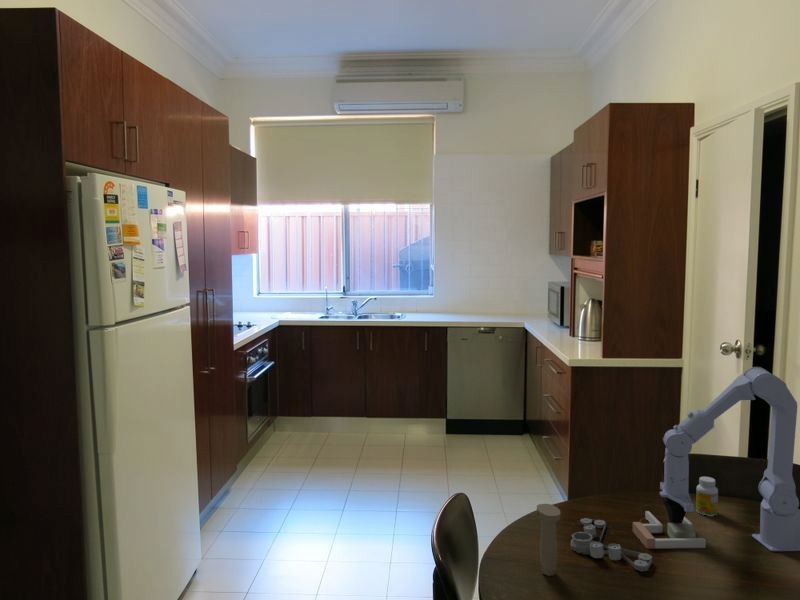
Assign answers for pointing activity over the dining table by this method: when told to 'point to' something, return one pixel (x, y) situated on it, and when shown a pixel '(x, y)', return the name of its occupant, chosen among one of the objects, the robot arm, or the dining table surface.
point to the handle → (548, 537)
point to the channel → (672, 542)
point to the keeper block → (680, 530)
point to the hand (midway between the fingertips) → (675, 526)
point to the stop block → (643, 535)
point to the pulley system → (605, 546)
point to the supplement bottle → (707, 497)
